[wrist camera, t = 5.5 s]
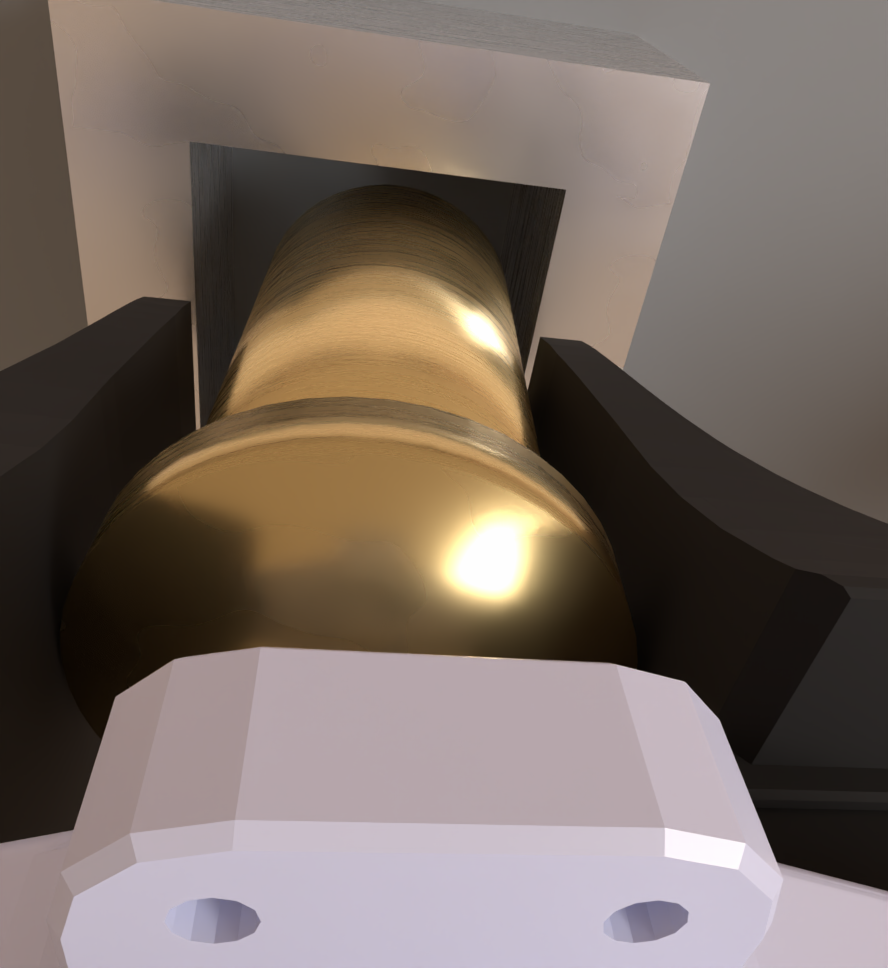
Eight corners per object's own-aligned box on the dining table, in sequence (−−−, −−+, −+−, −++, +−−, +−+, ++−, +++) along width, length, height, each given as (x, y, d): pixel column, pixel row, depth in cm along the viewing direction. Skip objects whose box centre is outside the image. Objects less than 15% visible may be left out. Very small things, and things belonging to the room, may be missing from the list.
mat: (1307, -128, 14) (1334, -128, 13) (878, 573, 23) (886, 586, 23) (-193, -440, 11) (-214, -451, 10) (12, 516, 20) (4, 529, 20)
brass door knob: (570, 177, 13) (720, 496, 6) (505, 447, 15) (561, 855, 9) (236, 125, 12) (17, 414, 6) (234, 415, 15) (90, 823, 9)
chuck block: (635, 34, 14) (710, 83, 11) (535, 439, 19) (566, 554, 16) (127, -45, 13) (46, -16, 10) (159, 407, 18) (112, 524, 15)
